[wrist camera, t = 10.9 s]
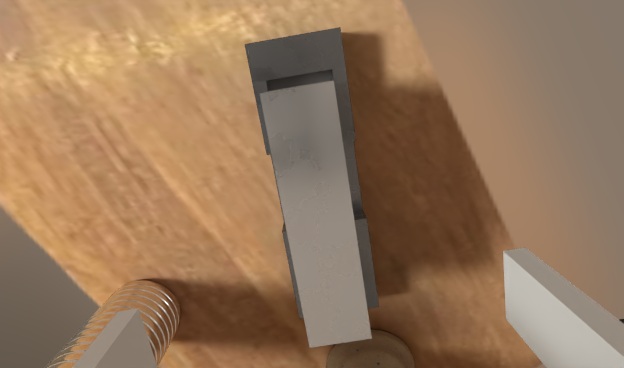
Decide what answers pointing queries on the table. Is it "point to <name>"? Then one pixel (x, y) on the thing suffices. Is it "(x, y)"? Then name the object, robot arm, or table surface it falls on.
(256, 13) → the table surface
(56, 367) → the water bottle
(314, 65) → the rail
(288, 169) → the grey notched block
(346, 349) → the candle holder
